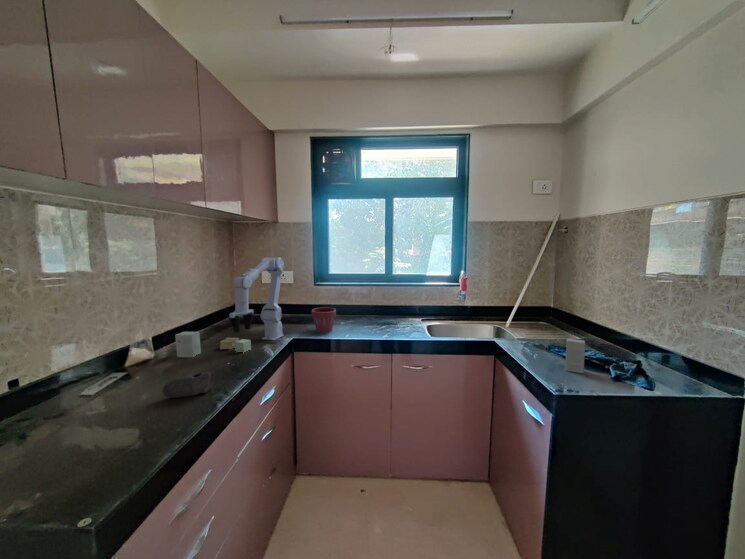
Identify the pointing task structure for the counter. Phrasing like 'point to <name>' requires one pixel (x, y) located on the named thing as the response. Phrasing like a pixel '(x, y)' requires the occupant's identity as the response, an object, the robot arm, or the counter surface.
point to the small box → (188, 344)
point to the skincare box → (575, 355)
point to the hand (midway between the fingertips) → (242, 330)
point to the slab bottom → (227, 347)
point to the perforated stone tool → (189, 385)
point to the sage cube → (242, 345)
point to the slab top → (229, 341)
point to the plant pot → (324, 318)
